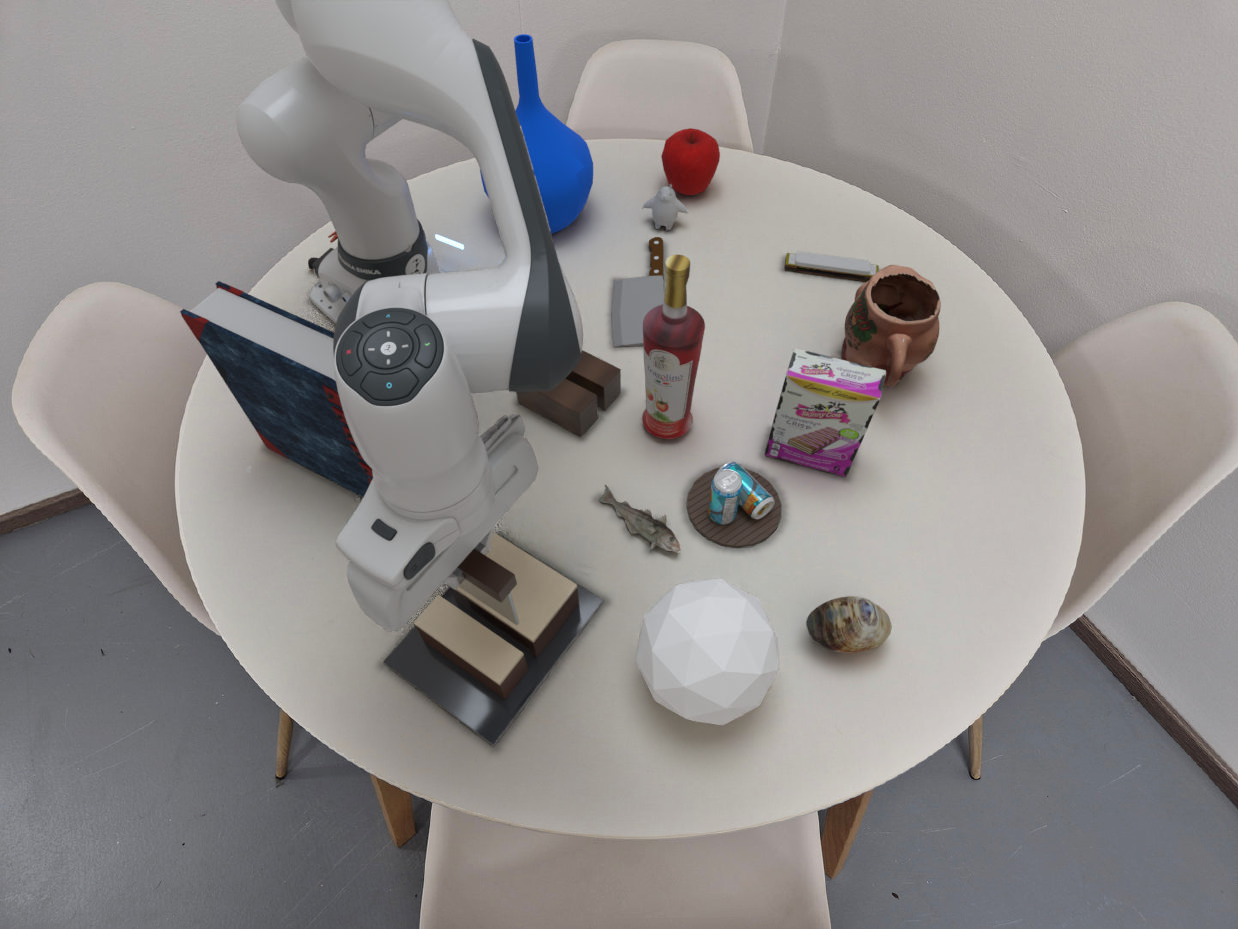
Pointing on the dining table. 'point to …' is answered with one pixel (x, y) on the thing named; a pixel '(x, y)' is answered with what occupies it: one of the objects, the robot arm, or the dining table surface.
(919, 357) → the decorative planter
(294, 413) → the book
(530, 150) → the vase
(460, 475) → the robot arm
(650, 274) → the kitchen cleaver
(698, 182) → the apple
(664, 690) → the geometric shape
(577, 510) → the dining table surface
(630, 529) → the fish
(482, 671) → the cake slice
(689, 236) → the dining table surface
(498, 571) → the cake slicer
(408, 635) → the cake
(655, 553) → the dining table surface
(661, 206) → the figurine
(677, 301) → the liquor
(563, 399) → the slicer stand
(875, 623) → the seashell
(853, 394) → the candy bar box
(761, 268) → the dining table surface
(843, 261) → the harmonica
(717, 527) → the drink cans on coaster
